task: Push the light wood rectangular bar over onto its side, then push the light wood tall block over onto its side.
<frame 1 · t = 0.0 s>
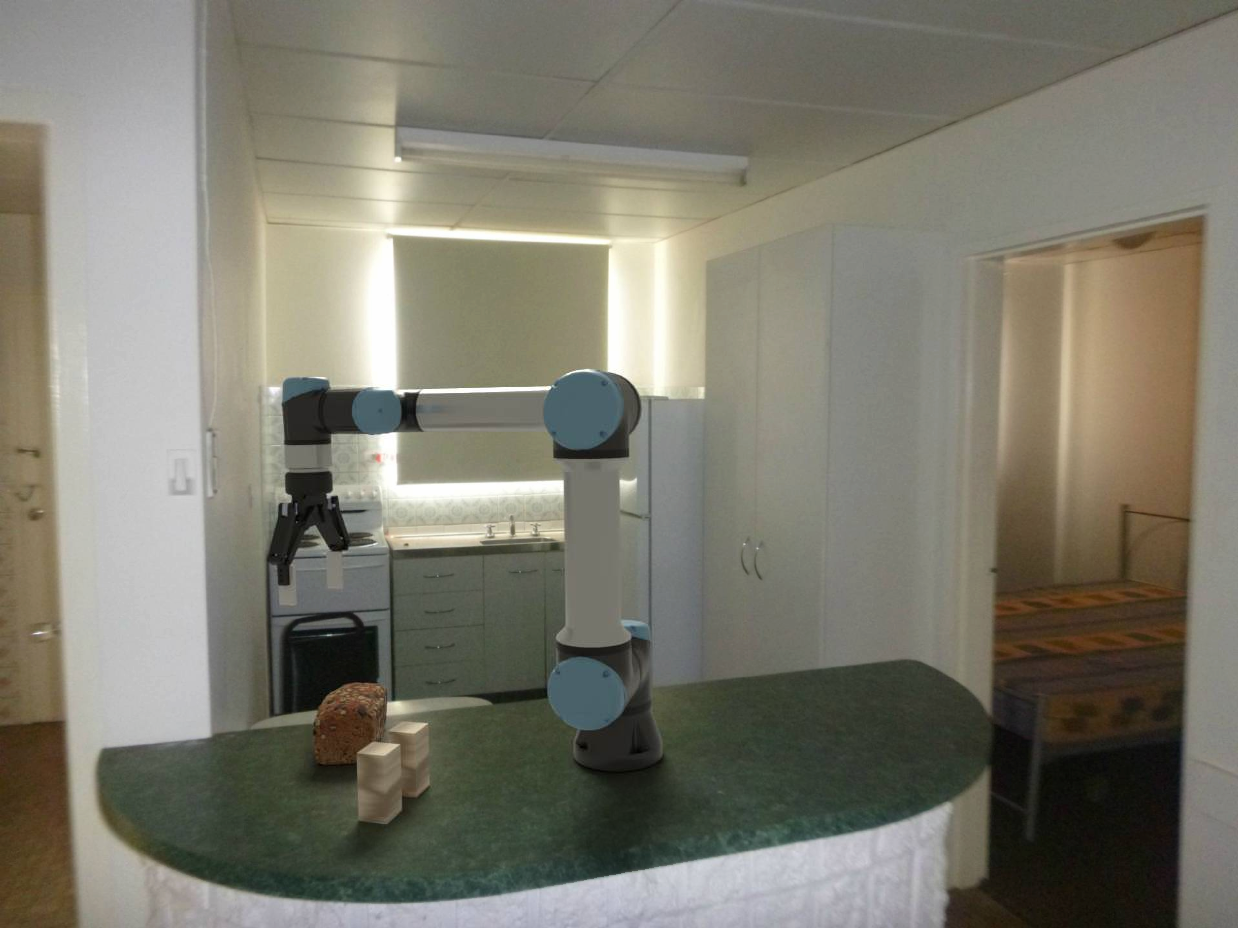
hand: (312, 596, 151), 28 cm above the counter, fingers open, 13 cm apart
light wood rectangular bar: (380, 815, 131), on the counter
light wood tall block: (410, 790, 140), on the counter
bread: (352, 747, 159), on the counter
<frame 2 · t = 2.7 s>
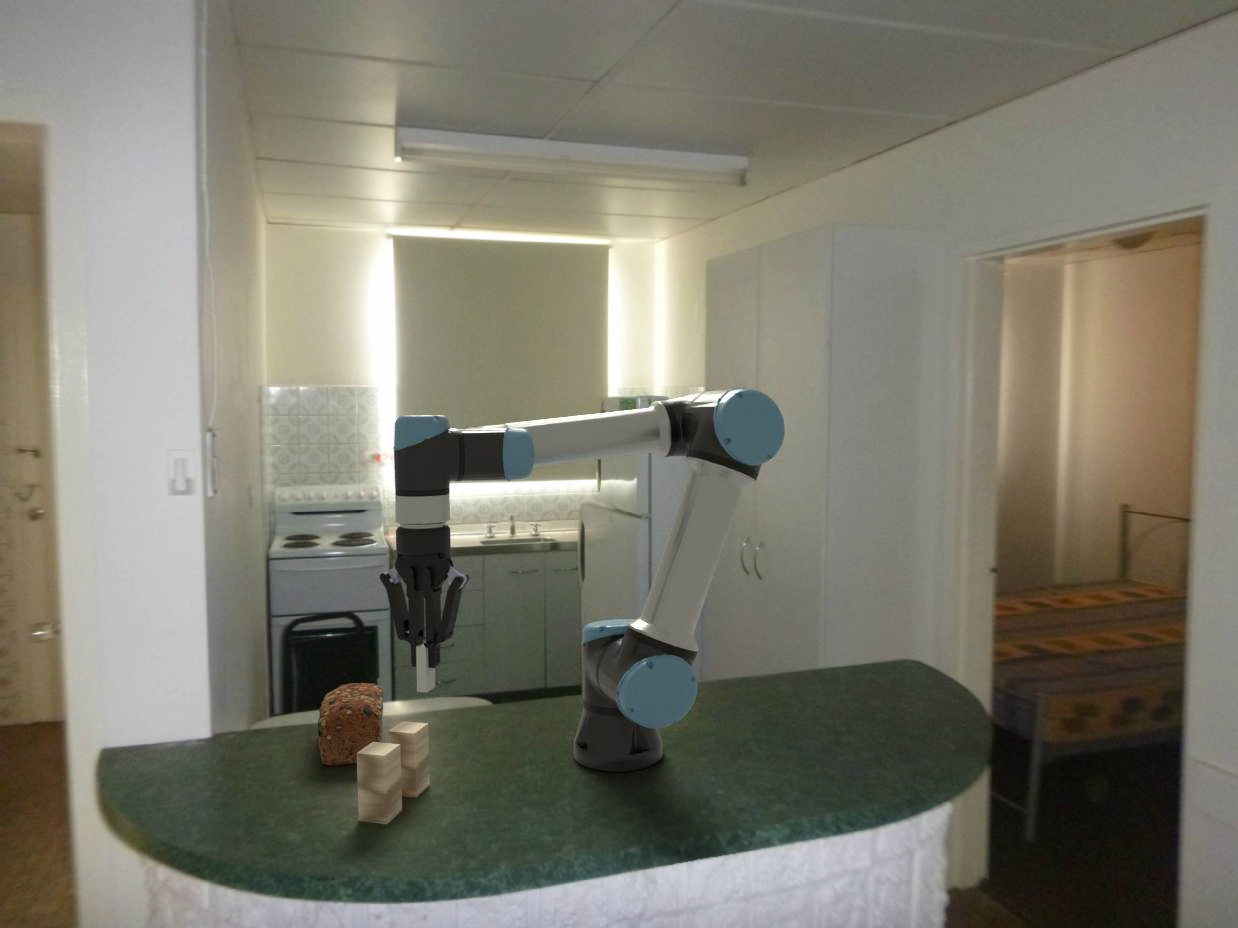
hand: (426, 689, 128), 19 cm above the counter, fingers closed
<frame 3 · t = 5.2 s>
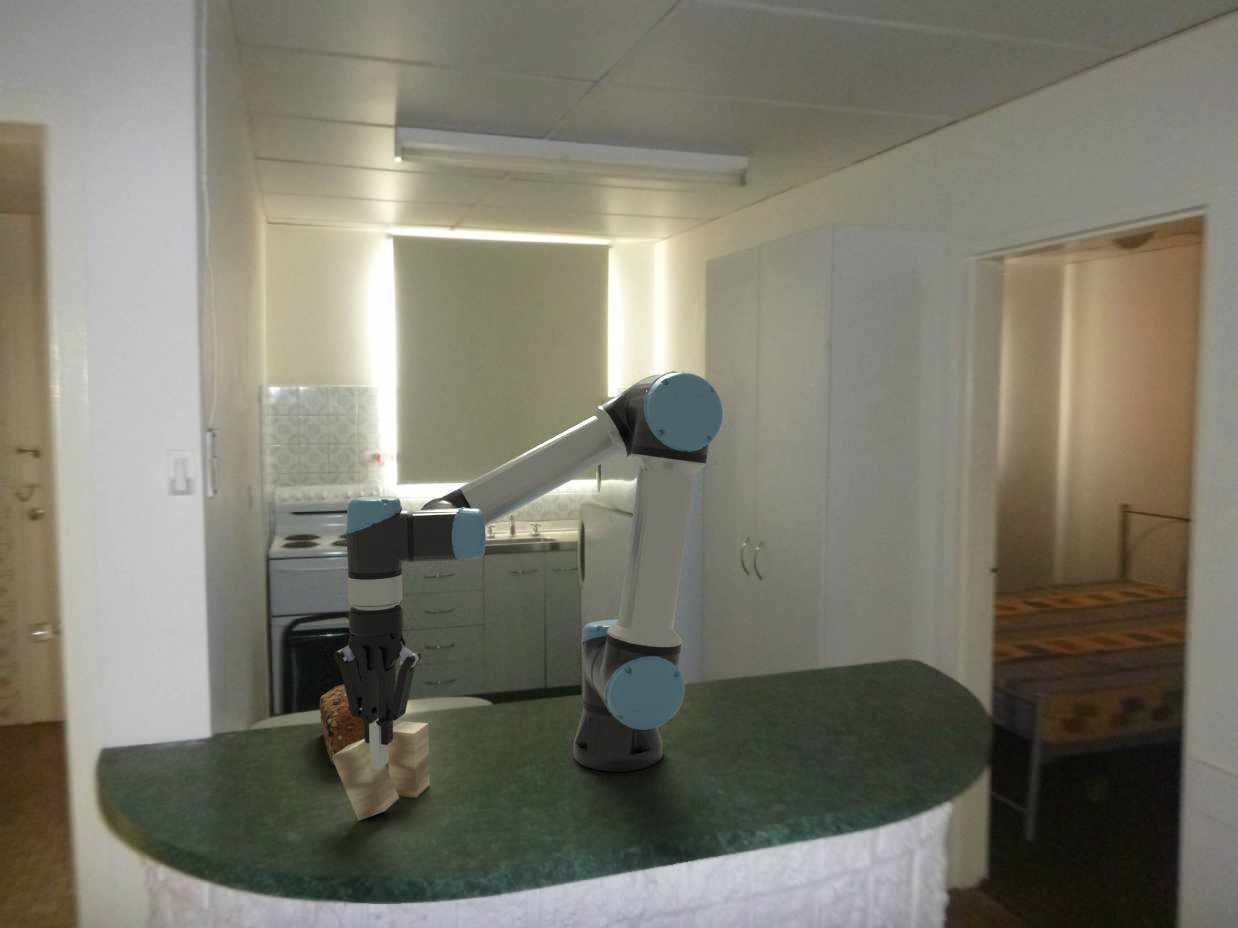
hand: (379, 764, 130), 8 cm above the counter, fingers closed
light wood rectangular bar: (379, 809, 131), point 1 cm above the counter, tilted 24°
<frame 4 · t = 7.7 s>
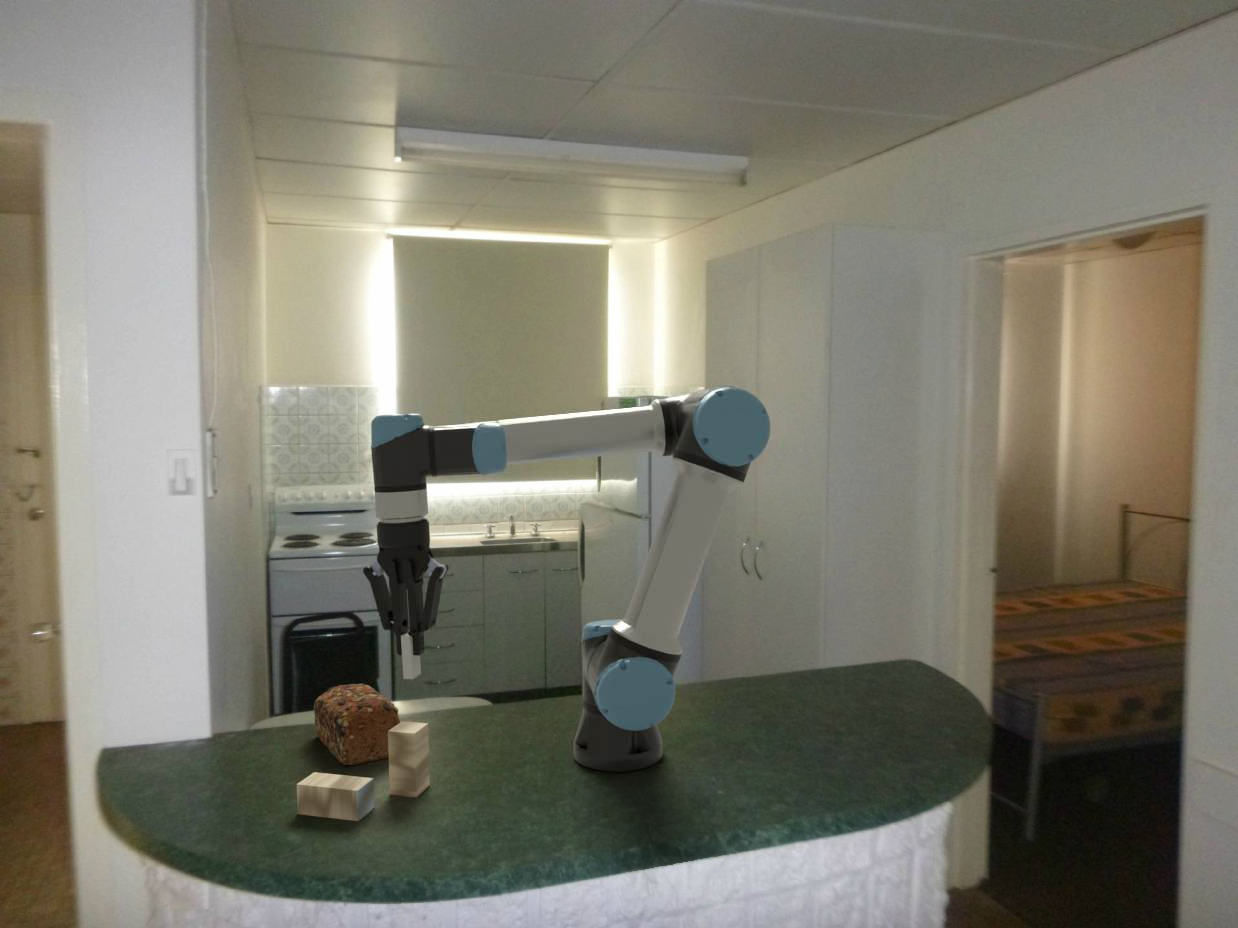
hand: (412, 676, 133), 19 cm above the counter, fingers closed
light wood rectangular bar: (366, 799, 131), point 2 cm above the counter, tilted 90°
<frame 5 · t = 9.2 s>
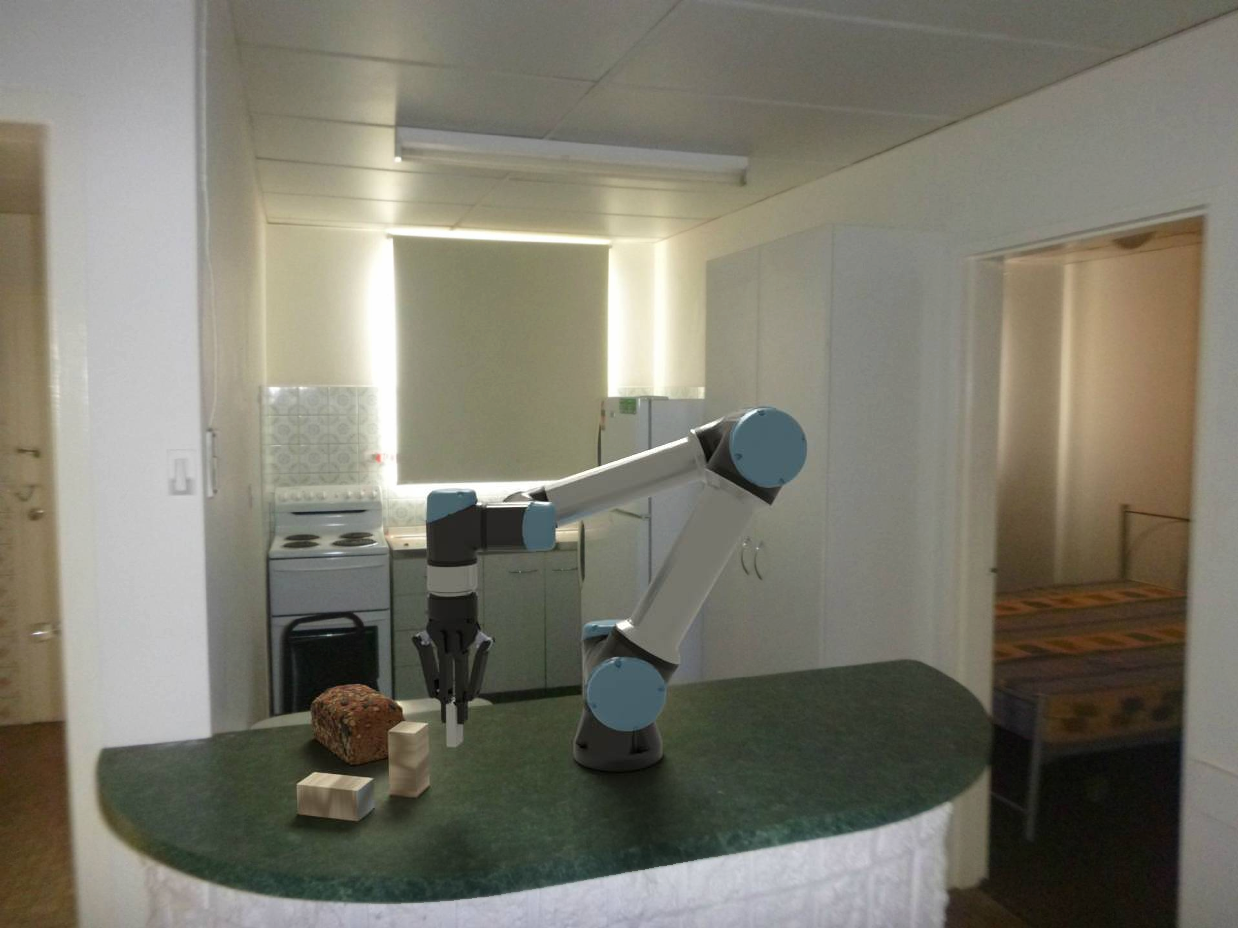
hand: (454, 743, 137), 8 cm above the counter, fingers closed
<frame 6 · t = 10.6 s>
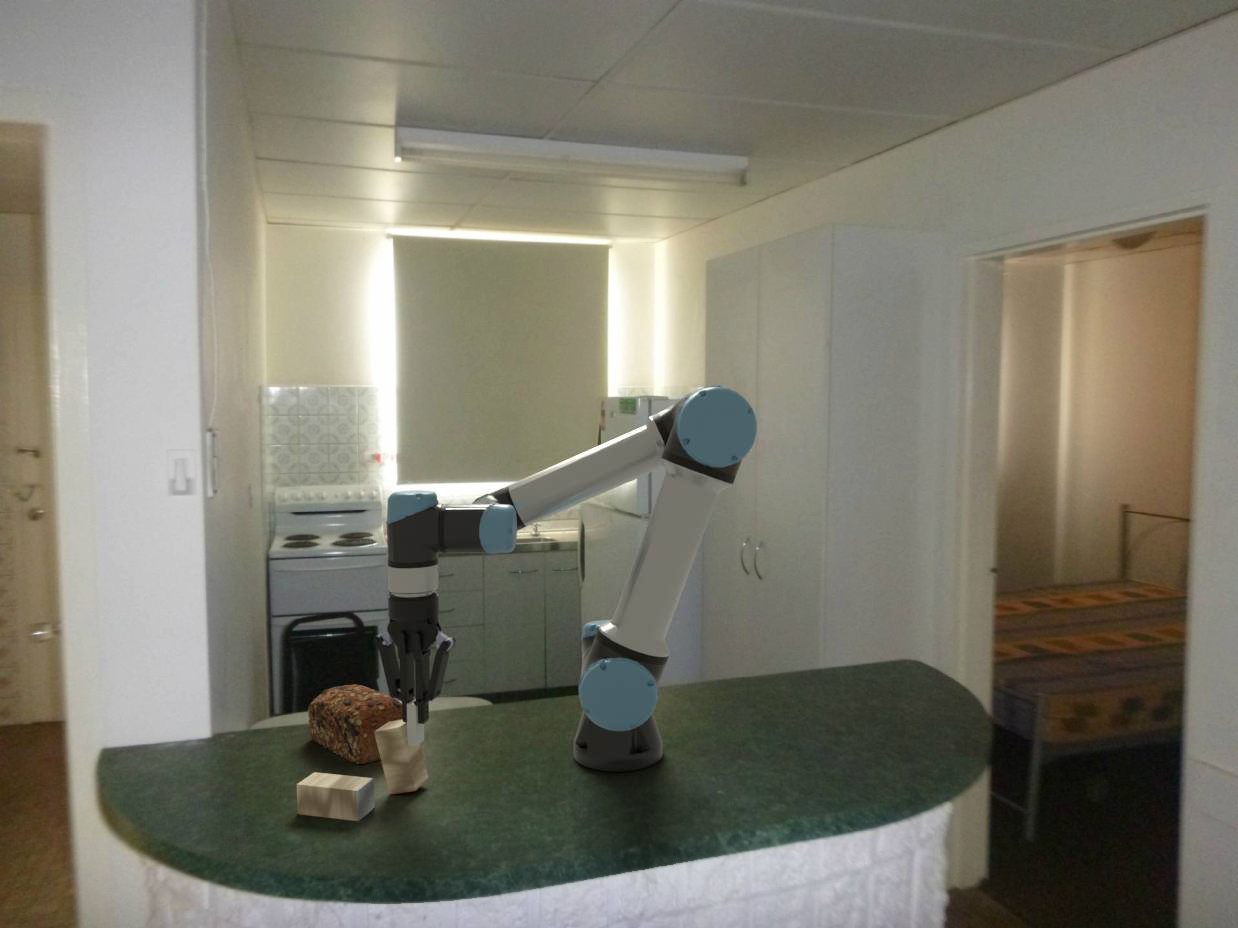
hand: (415, 742, 139), 8 cm above the counter, fingers closed
light wood tall block: (409, 786, 139), point 1 cm above the counter, tilted 14°, touching gripper
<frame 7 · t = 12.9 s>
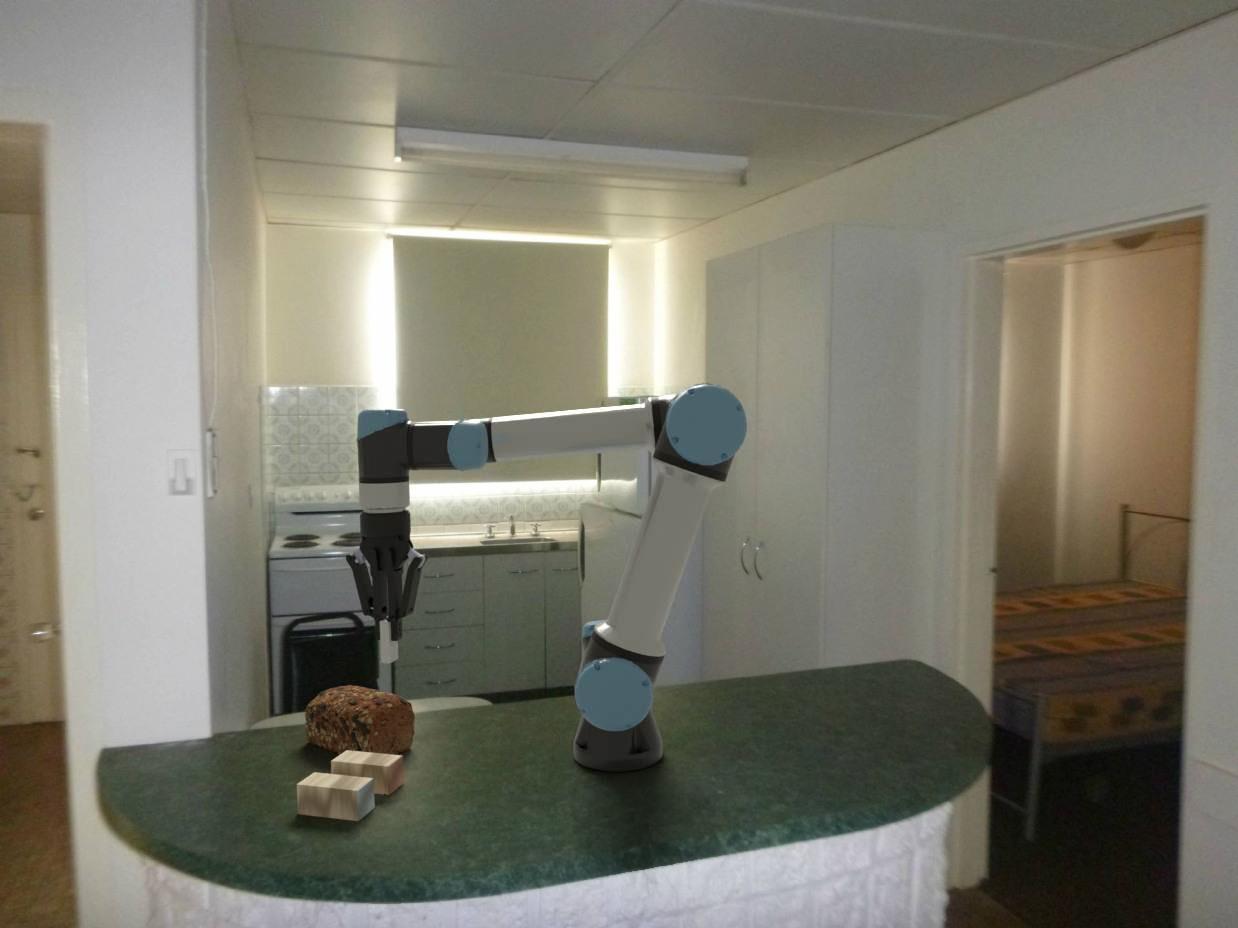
hand: (389, 660, 139), 20 cm above the counter, fingers closed
light wood tall block: (396, 774, 140), point 2 cm above the counter, tilted 90°
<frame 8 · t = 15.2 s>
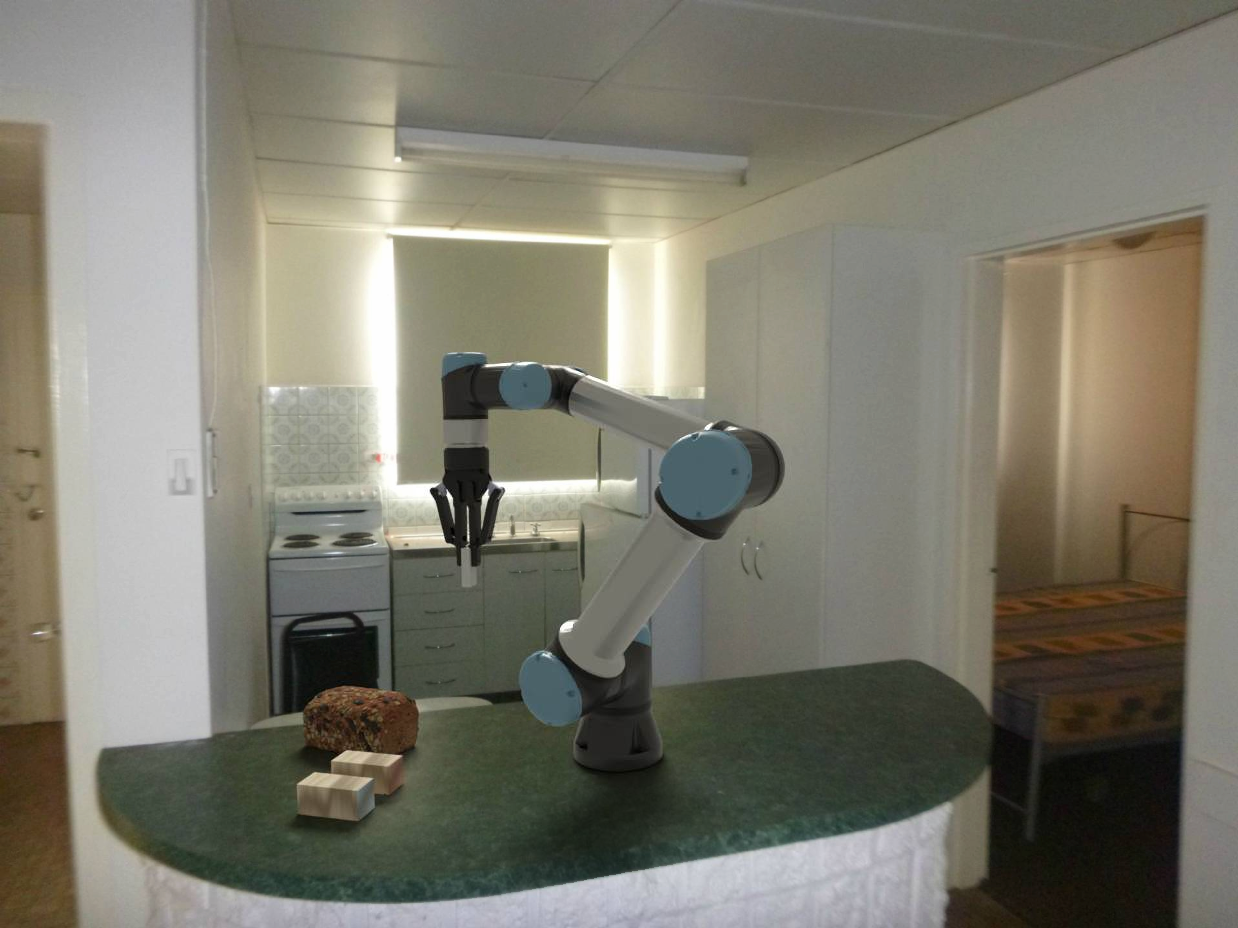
hand: (469, 585, 151), 29 cm above the counter, fingers closed
at the end: light wood rectangular bar tilted 90°; light wood tall block tilted 90°; light wood rectangular bar inside the target area (5.8 cm from its centre), point 2.2 cm above the counter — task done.
